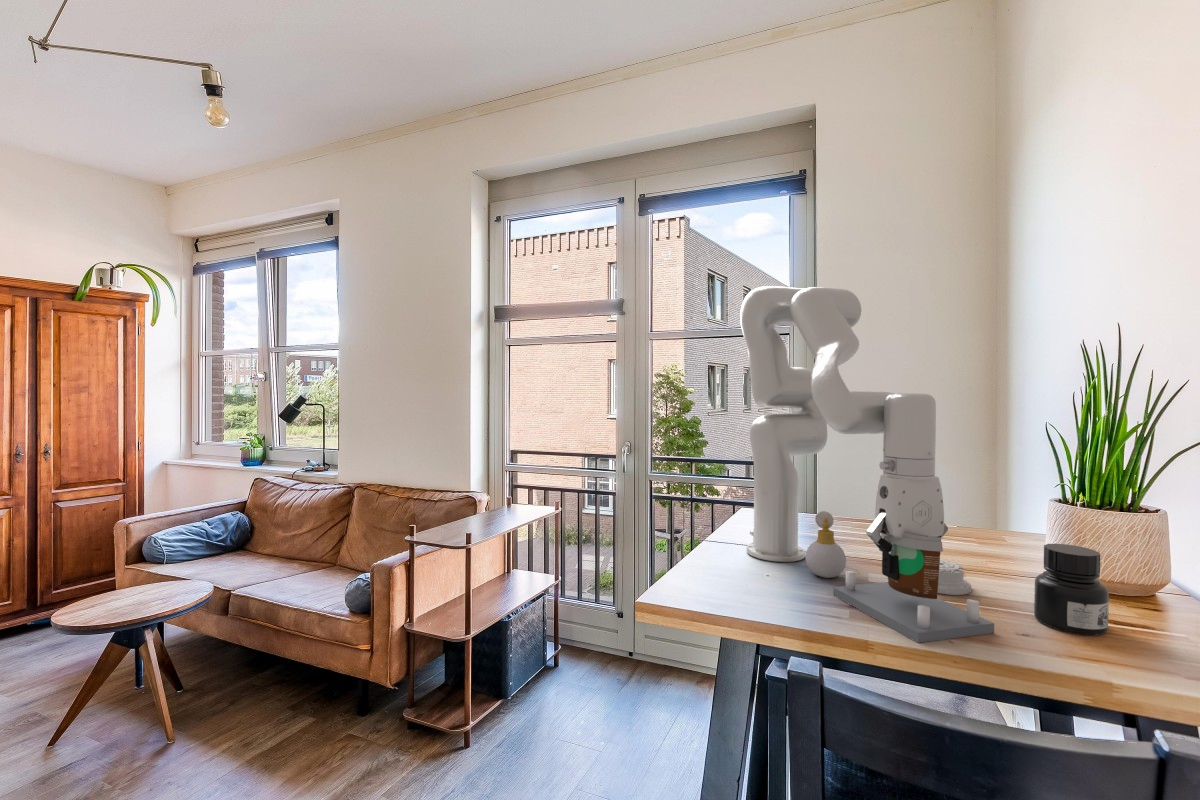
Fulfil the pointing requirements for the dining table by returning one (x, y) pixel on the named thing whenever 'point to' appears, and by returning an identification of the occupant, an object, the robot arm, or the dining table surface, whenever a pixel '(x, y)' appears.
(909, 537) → the food container
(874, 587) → the seating plate
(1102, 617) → the ink bottle
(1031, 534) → the dining table surface
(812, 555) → the perfume bottle
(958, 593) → the white cake
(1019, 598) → the dining table surface
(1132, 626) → the dining table surface
